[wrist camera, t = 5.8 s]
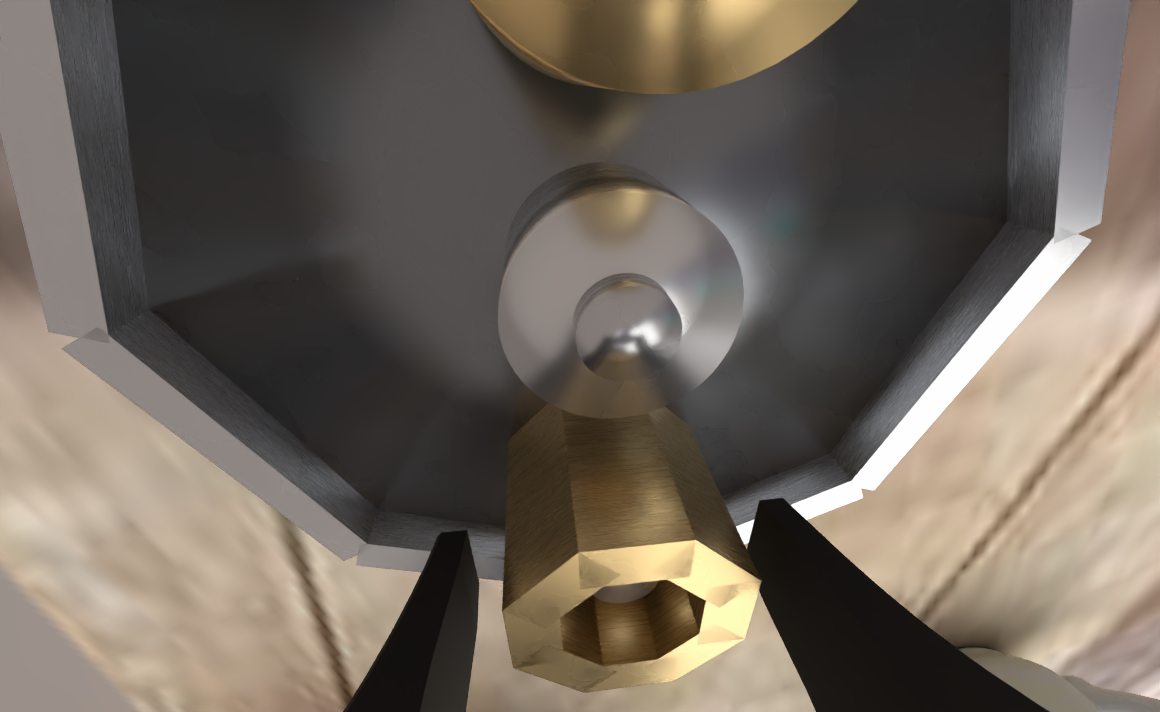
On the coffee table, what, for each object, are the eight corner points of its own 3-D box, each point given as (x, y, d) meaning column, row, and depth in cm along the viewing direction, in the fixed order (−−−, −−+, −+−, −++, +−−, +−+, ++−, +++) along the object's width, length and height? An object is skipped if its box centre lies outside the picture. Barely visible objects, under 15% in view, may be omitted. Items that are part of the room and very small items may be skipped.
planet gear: (692, 380, 13) (776, 531, 9) (676, 509, 16) (734, 673, 11) (503, 395, 12) (492, 561, 8) (520, 525, 15) (519, 701, 11)
